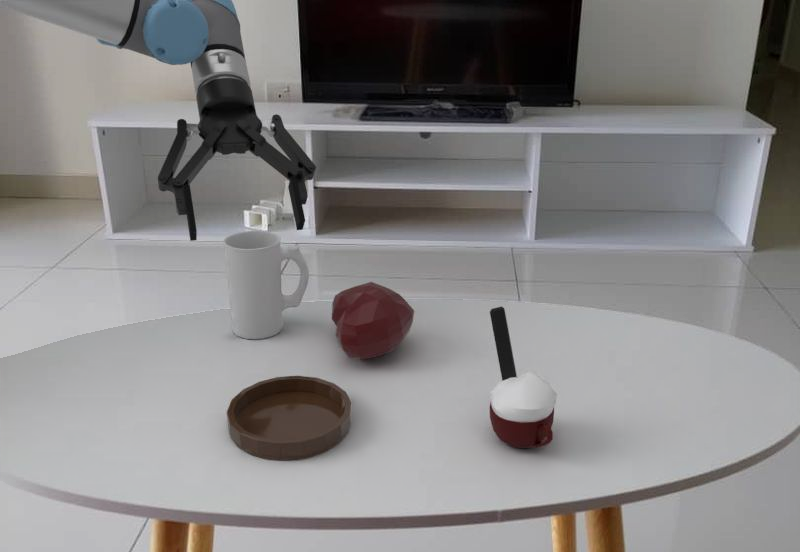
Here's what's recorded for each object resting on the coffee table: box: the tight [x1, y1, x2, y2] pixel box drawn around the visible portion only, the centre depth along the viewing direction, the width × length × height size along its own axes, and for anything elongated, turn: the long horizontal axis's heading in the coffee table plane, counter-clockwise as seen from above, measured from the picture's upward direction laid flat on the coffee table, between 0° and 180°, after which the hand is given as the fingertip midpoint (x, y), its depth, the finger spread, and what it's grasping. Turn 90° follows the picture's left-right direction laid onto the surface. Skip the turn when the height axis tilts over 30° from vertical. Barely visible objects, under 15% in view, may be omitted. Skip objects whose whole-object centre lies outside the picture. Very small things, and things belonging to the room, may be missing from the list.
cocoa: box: [489, 306, 557, 449], centre depth 72 cm, size 10×6×12 cm, turn 4°
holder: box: [226, 375, 353, 461], centre depth 75 cm, size 12×12×2 cm
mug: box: [222, 230, 310, 340], centre depth 93 cm, size 10×7×12 cm, turn 100°
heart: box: [331, 281, 415, 360], centre depth 90 cm, size 12×8×10 cm
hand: (248, 230), depth 95 cm, fingers open, 13 cm apart
